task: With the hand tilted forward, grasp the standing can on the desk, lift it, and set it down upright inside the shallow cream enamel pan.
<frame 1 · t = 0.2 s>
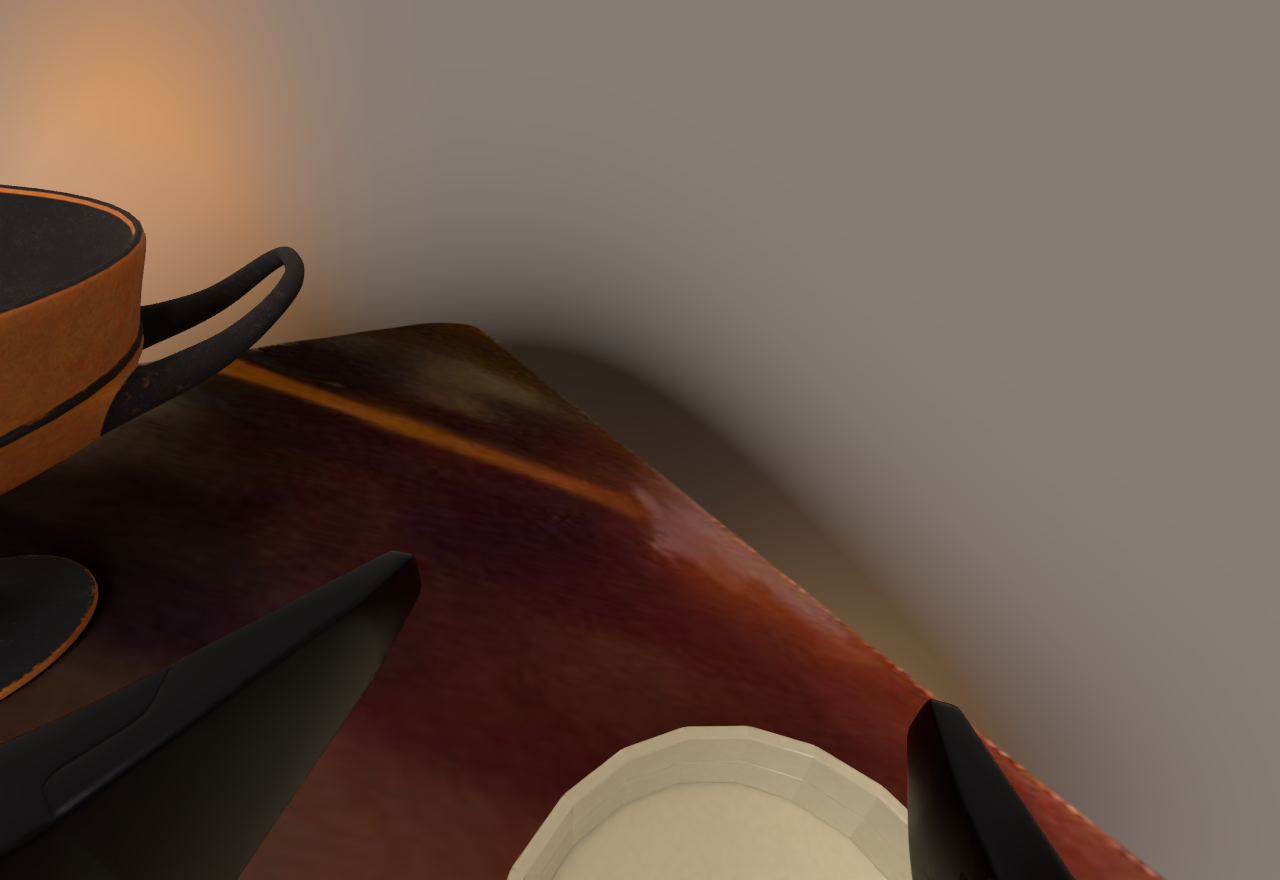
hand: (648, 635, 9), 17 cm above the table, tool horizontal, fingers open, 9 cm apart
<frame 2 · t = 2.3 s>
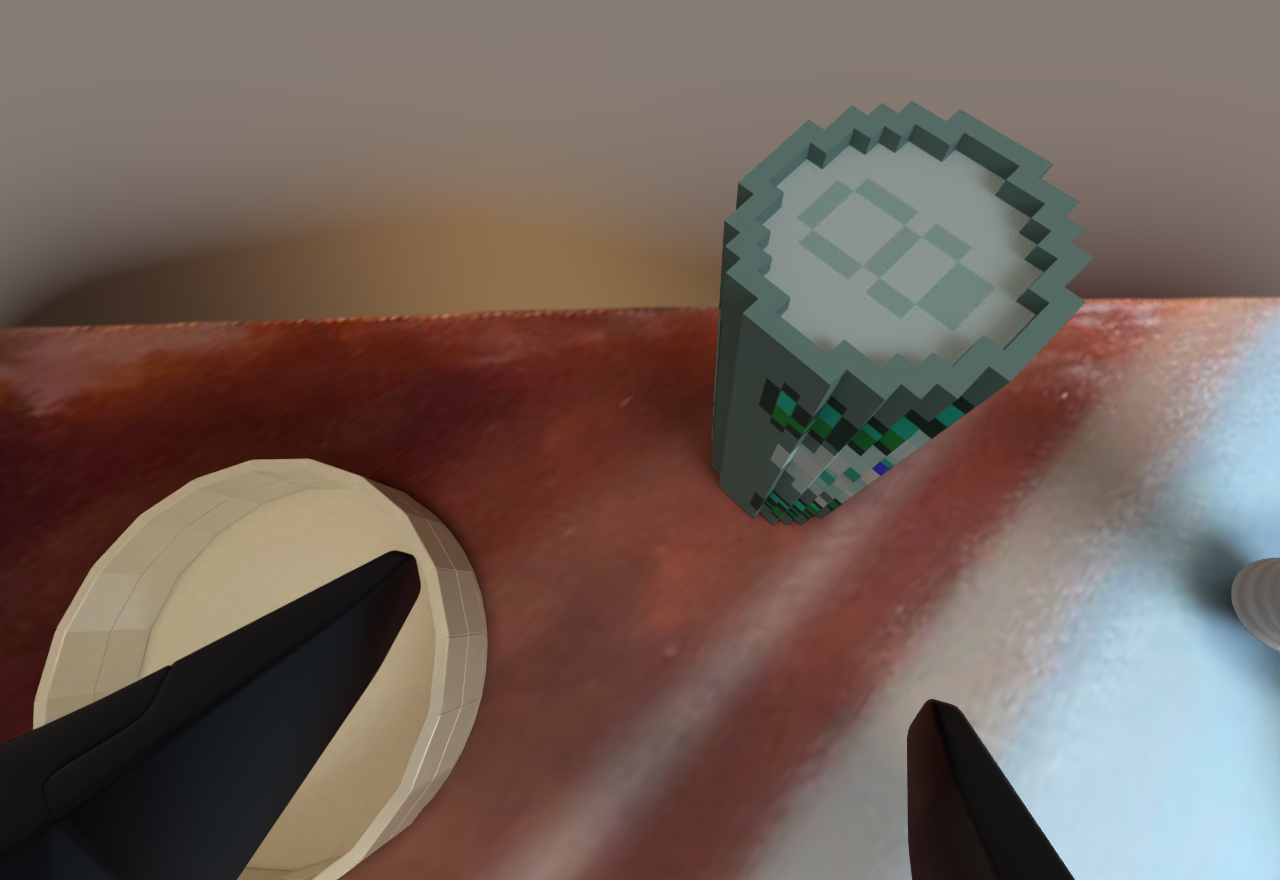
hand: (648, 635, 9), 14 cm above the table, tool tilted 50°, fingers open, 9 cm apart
light bulb: (1246, 606, 21), on the table
can: (782, 455, 24), on the table
pan: (310, 659, 24), on the table
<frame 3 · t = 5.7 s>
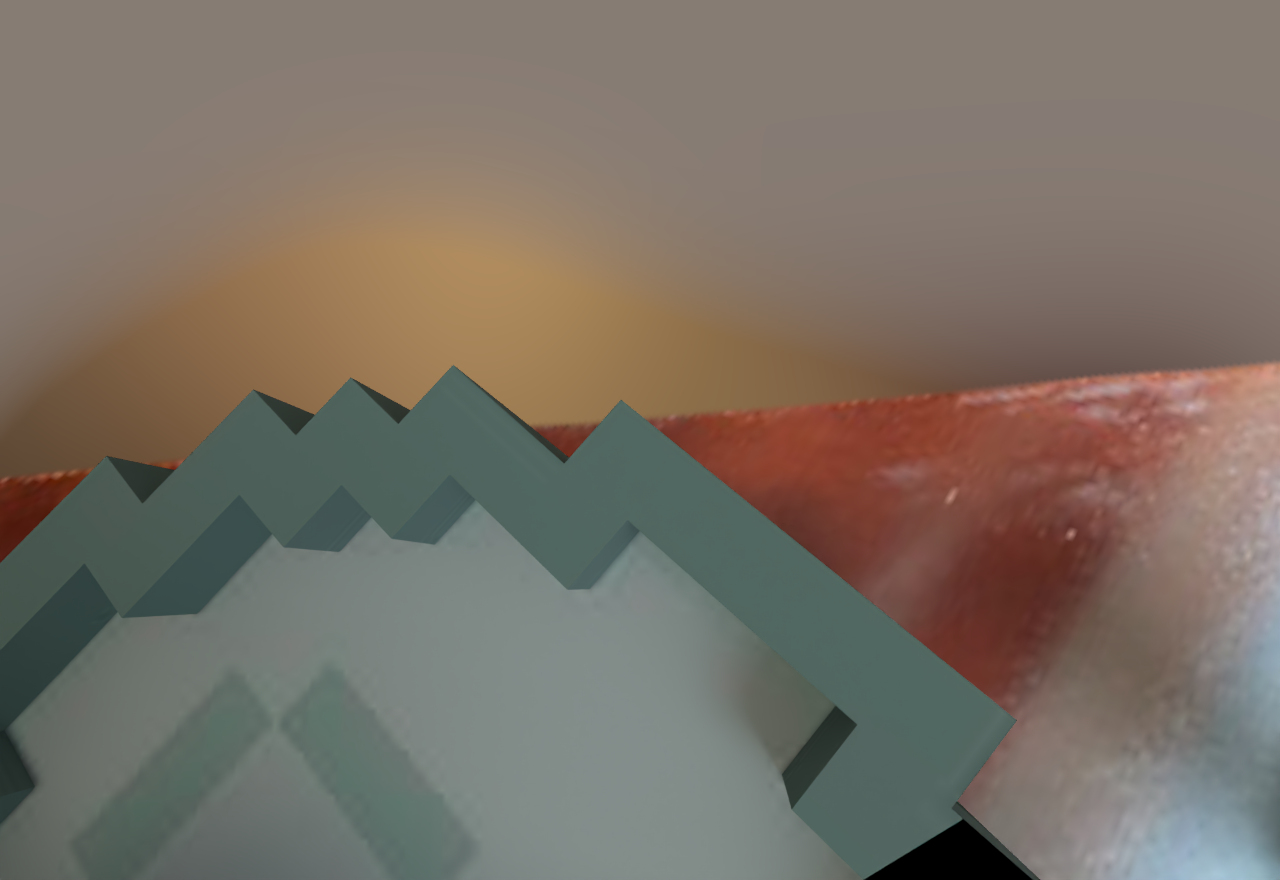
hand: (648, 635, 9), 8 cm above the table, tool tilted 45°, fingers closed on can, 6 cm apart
can: (673, 656, 17), on the table, touching gripper
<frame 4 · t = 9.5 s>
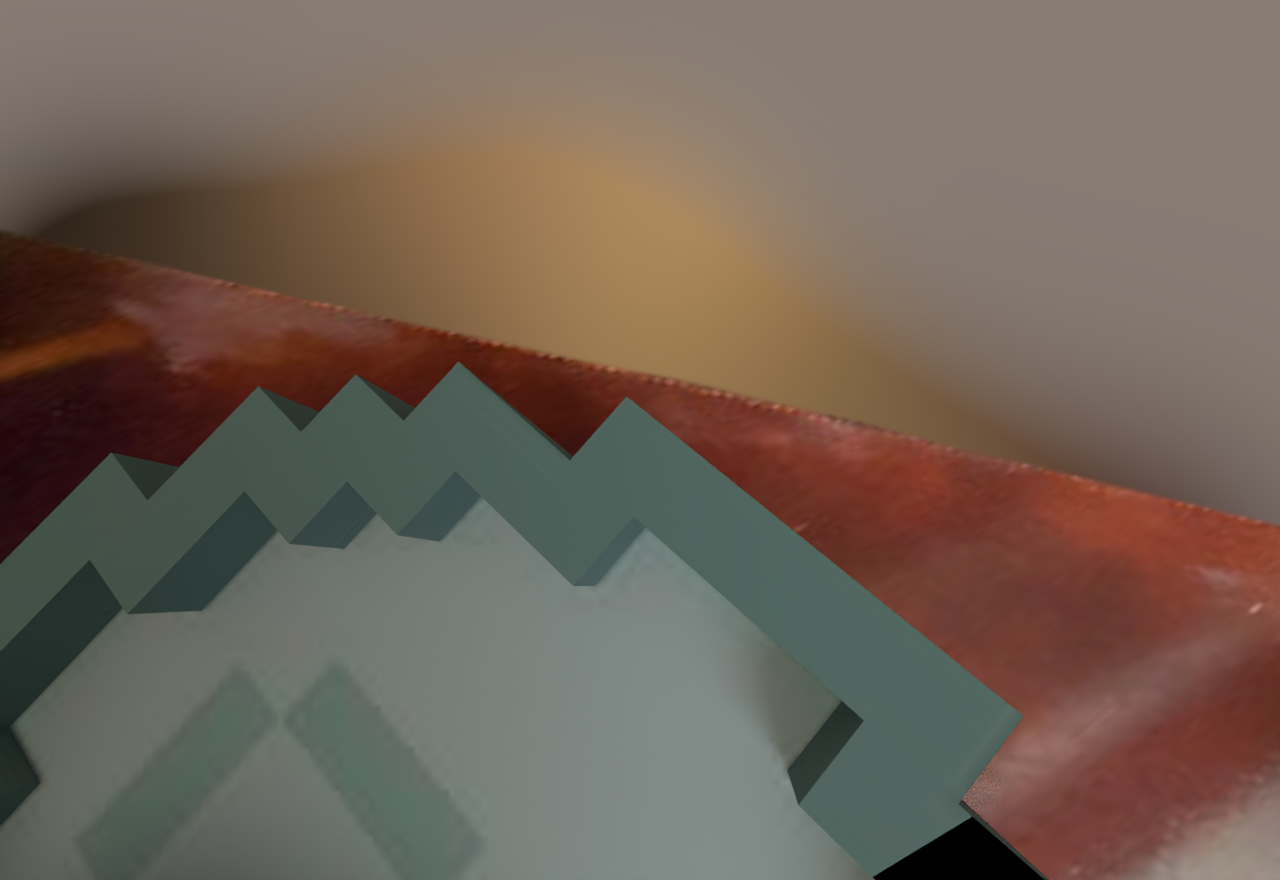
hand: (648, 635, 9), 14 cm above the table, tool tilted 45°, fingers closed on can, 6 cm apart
can: (673, 655, 17), point 6 cm above the table, touching gripper
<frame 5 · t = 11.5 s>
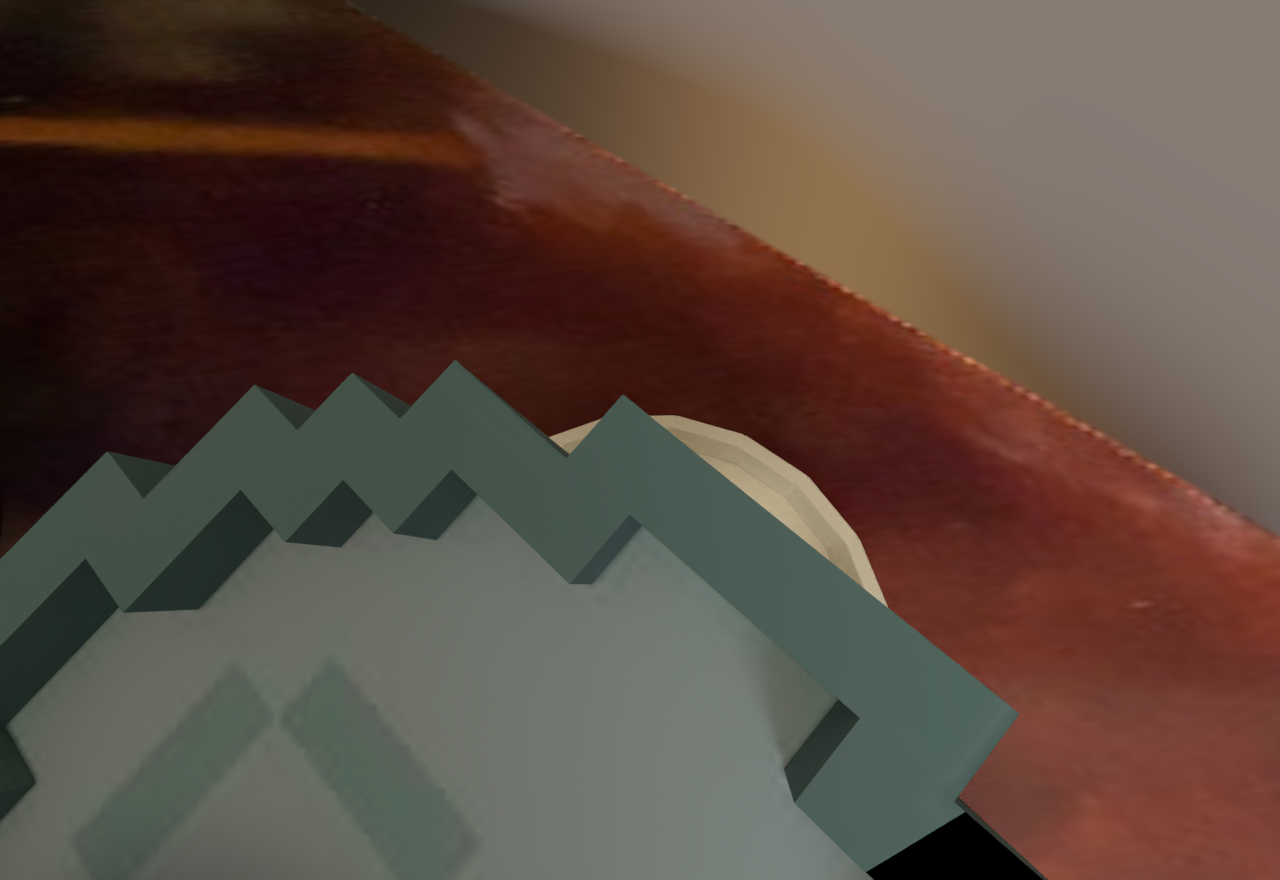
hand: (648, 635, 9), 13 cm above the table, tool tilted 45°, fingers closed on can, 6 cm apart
can: (673, 655, 17), point 5 cm above the table, touching gripper
pan: (652, 635, 22), on the table
when the fingers open (8 cm above the table, at t = 13.4 s): can stays where it is, resting on pan.
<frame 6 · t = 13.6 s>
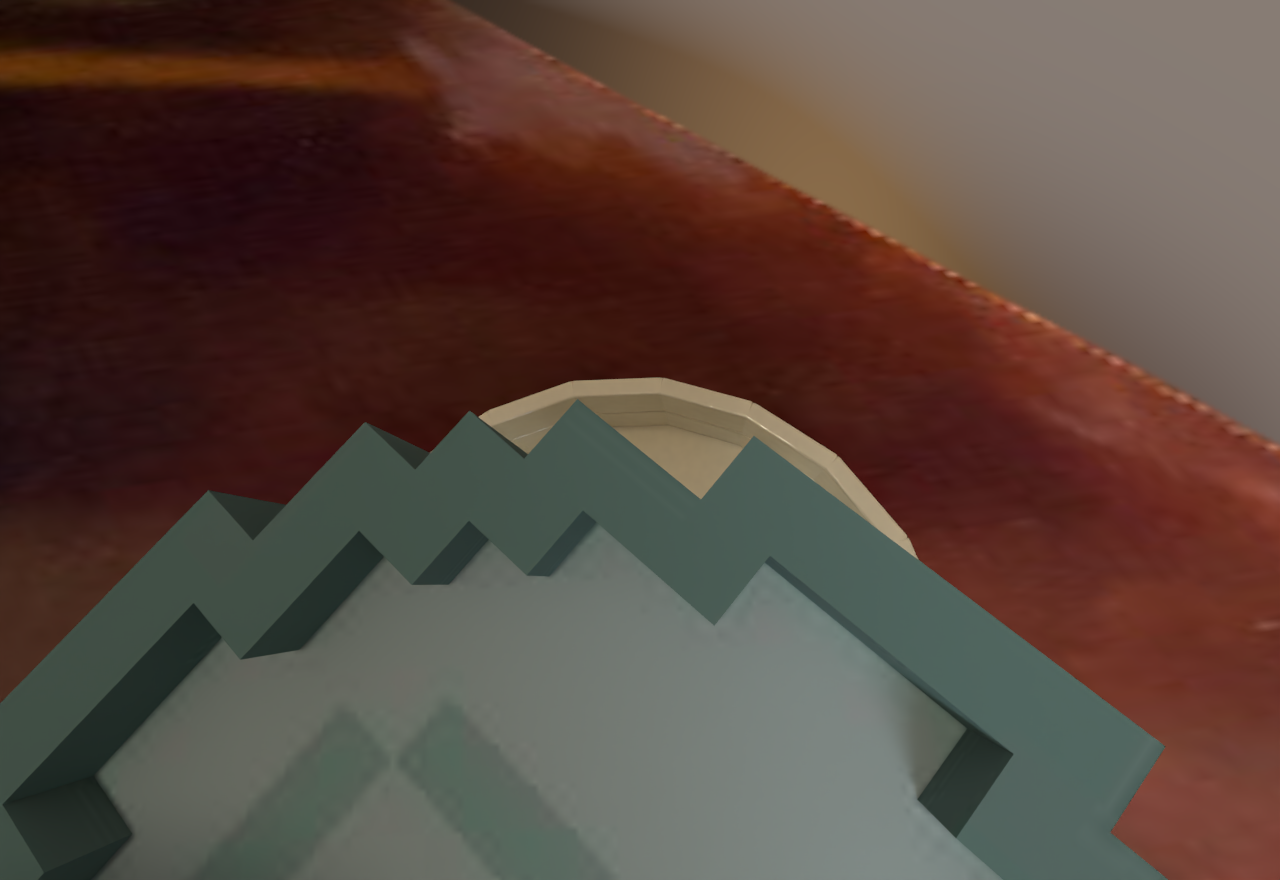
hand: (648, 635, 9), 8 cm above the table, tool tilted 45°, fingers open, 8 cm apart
can: (672, 660, 17), resting on pan, touching gripper
pan: (634, 662, 17), on the table
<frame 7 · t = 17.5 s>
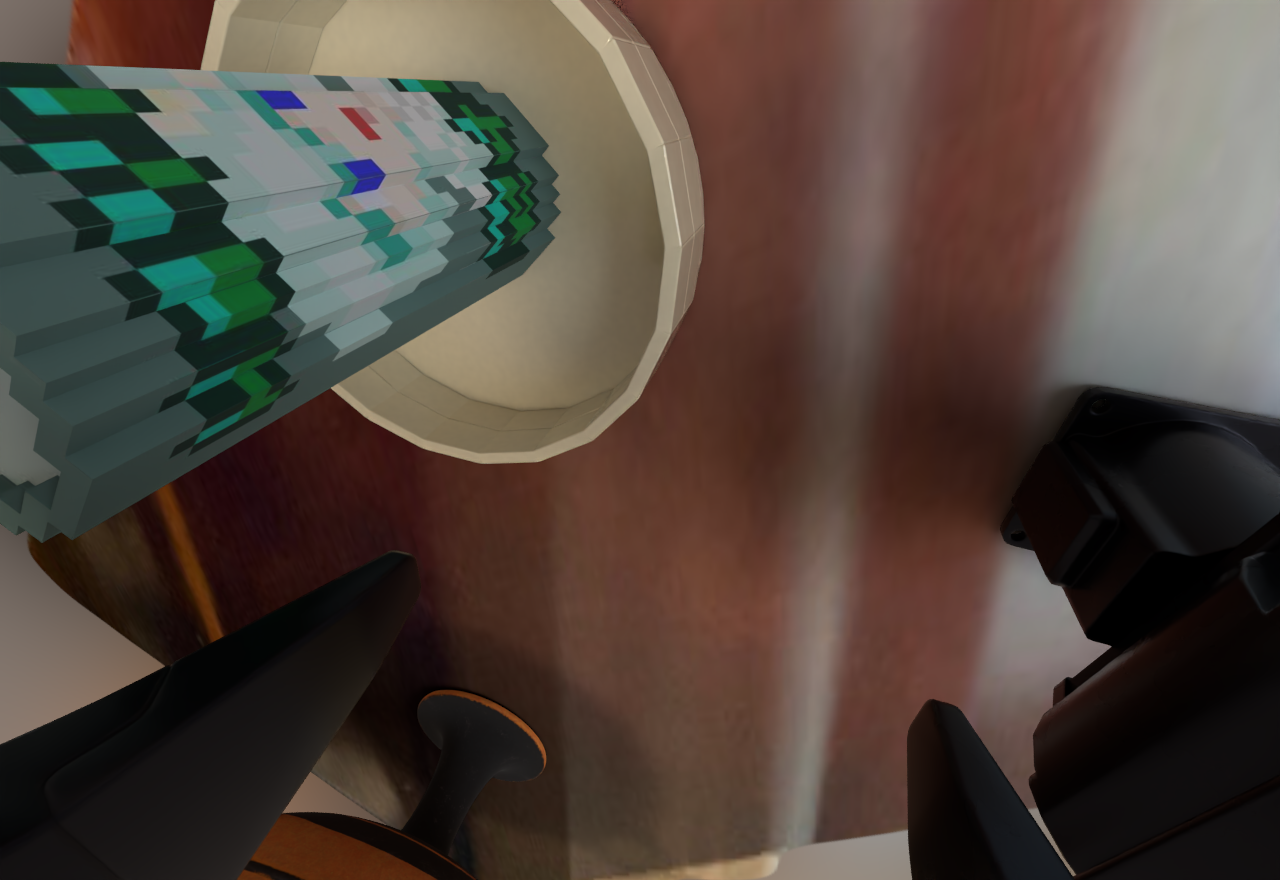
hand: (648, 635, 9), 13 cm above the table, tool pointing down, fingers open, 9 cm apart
can: (479, 188, 19), resting on pan
pan: (490, 223, 20), on the table
footed terracotta bowl: (484, 730, 41), on the table
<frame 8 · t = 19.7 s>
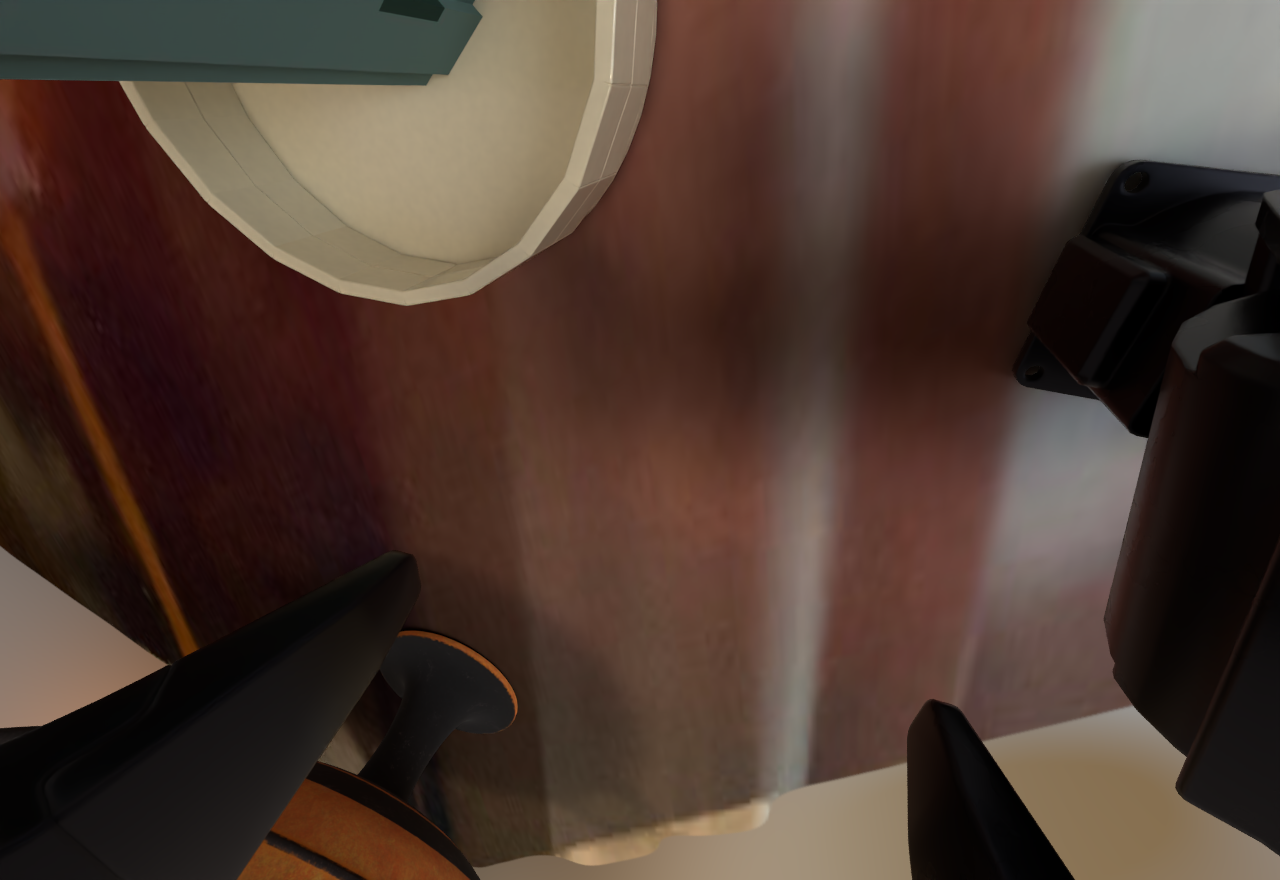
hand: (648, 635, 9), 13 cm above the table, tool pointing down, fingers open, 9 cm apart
pan: (409, 12, 17), on the table
footed terracotta bowl: (451, 677, 38), on the table
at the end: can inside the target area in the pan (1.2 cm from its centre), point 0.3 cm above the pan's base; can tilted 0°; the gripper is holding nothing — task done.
